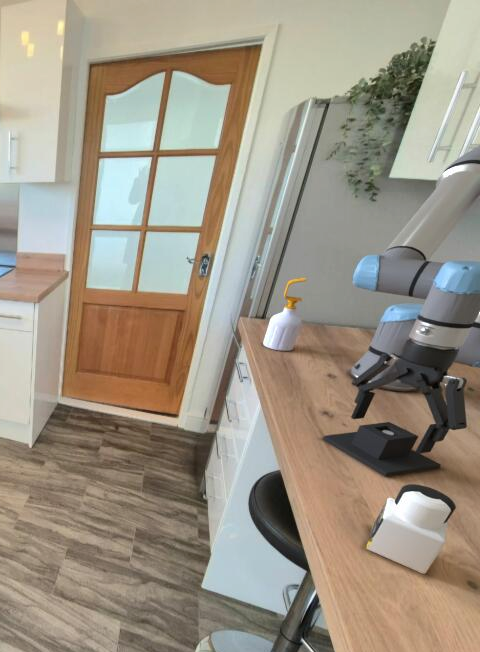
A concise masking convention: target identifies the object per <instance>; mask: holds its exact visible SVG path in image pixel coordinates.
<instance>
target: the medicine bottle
mask: <svg viewBox="0 0 480 652" xmlns="http://www.w3.org/2000/svg"><path fill="white" fill-rule="evenodd" d="M456 508H457V506H456V504H455V502H454V501H453V499H452V498H451V497H449V496H448V495H446V494H445V493H443V492H441V491H439V490H437V489H435V488H432V487H429V486H426V485H422V484H416V483H410V484H404V485H403V486H401V488H400V490H399V492H398V494H397V495H396V497H395V498H392V497H388V498H387V499H386V501H385V503H384V505H383V507H382V508H381V510H380V512H379V514H378V516H377V518H376V519H375V521H374V523H373V524H372V527H371V530H370V534H369V537H368V540H367V544H366V549H367V550H368V551H370V552H372V553H375V554H377V555H379V556H382V557H383V558H386V559H388V560H390V561H392V562H395V563H396V564H400V565H401V566H404V567H407V568H409V569H411V570H412V571H415V572H418V573H420V574H422V575H423V574H424V575H425V574H426V573H427V572H428V570H429V569H430V568H431V566H432V565H433V563H434V562H435V560H436V558H437V556H438V555H439V554H440V552H441V550H442V549H443V547H444V546H445V544H446V543H447V532H448V522H449V519H450V518H451V516H452V515H453V513H454V512H455V511H456Z"/></svg>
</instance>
